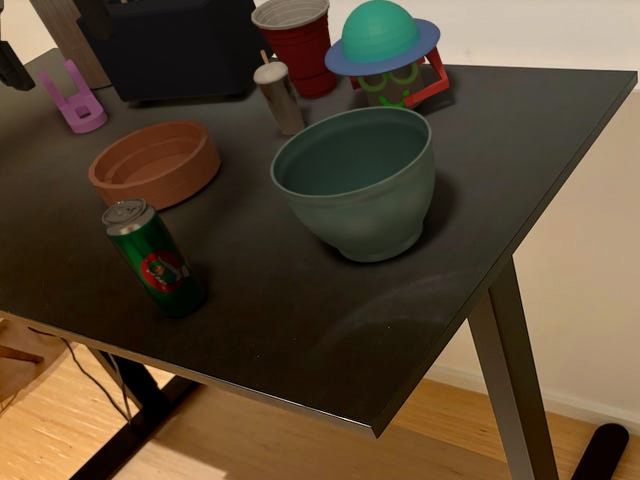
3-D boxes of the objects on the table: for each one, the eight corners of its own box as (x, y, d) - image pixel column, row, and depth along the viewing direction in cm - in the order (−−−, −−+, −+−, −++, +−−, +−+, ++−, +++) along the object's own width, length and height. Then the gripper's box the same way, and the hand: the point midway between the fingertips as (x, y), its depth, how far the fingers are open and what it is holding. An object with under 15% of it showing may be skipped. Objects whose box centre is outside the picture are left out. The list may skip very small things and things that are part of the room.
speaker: (279, 62, 116) (240, -38, 105) (245, 103, 108) (198, 0, 97) (167, 72, 122) (119, -21, 111) (126, 112, 114) (70, 15, 103)
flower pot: (374, 180, 86) (345, 95, 79) (483, 209, 78) (463, 117, 70) (280, 262, 79) (237, 177, 71) (390, 303, 70) (355, 212, 63)
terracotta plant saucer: (156, 228, 88) (137, 198, 85) (85, 204, 96) (64, 175, 93) (246, 159, 96) (231, 128, 93) (173, 142, 104) (157, 113, 100)
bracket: (61, 111, 119) (34, 70, 114) (93, 96, 121) (68, 56, 116) (77, 137, 111) (49, 94, 106) (111, 121, 113) (85, 79, 108)
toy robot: (346, 151, 92) (307, 43, 82) (346, 98, 103) (312, -5, 93) (461, 124, 92) (435, 11, 82) (449, 73, 102) (426, -33, 92)
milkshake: (306, 114, 102) (278, 44, 94) (312, 131, 98) (283, 59, 91) (275, 125, 101) (245, 55, 94) (279, 142, 97) (249, 71, 90)
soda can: (170, 290, 79) (109, 198, 70) (213, 285, 78) (157, 191, 69) (154, 323, 75) (88, 230, 67) (199, 317, 75) (138, 223, 66)
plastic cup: (333, 108, 101) (303, 22, 93) (270, 108, 105) (235, 25, 97) (367, 70, 108) (341, -14, 99) (306, 71, 112) (276, -10, 103)
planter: (83, 96, 122) (-8, -49, 106) (81, 75, 129) (-5, -64, 112) (140, 75, 124) (60, -72, 107) (135, 56, 130) (59, -85, 114)
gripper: (-20, -201, 53) (102, 22, 65) (-210, -136, 45) (-32, 103, 57) (42, -212, 50) (159, 24, 62) (-151, -145, 42) (25, 111, 54)
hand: (67, 62), depth 59 cm, fingers open, 8 cm apart
